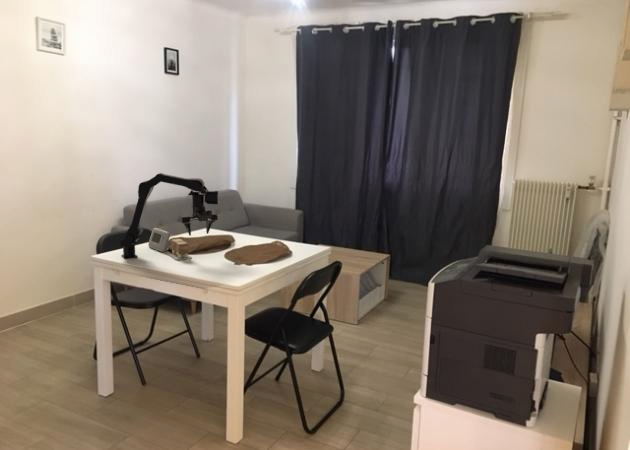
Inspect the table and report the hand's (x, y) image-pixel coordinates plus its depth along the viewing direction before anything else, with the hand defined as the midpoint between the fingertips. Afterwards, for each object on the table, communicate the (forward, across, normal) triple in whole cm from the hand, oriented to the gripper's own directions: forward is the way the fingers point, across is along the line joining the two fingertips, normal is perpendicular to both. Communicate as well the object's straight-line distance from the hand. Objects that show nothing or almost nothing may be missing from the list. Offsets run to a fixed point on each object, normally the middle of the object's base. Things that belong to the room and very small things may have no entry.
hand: (198, 234), depth 256 cm
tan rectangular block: (+9, -8, +6) cm, 13 cm away
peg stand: (+12, -8, +6) cm, 16 cm away
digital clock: (+12, -13, +25) cm, 31 cm away
